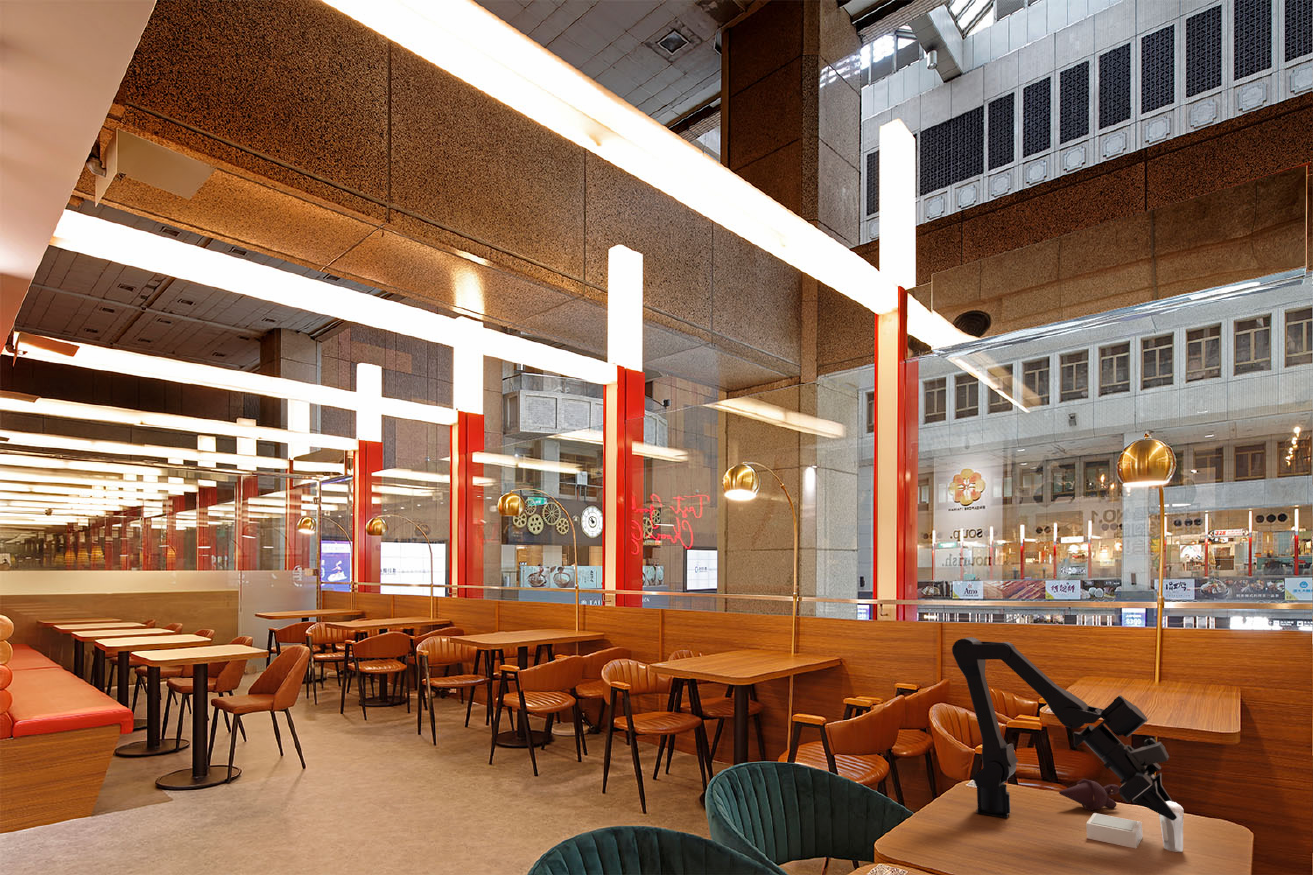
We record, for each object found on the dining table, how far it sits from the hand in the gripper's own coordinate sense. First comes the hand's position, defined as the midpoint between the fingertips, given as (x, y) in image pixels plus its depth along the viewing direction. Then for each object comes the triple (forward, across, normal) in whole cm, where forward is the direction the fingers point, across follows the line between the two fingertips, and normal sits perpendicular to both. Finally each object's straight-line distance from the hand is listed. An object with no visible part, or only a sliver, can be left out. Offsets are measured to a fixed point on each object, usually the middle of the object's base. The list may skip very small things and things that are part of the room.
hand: (1176, 816), depth 161 cm
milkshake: (+4, 0, +6) cm, 7 cm away
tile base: (-3, 0, +13) cm, 13 cm away
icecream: (-9, +18, +18) cm, 27 cm away
